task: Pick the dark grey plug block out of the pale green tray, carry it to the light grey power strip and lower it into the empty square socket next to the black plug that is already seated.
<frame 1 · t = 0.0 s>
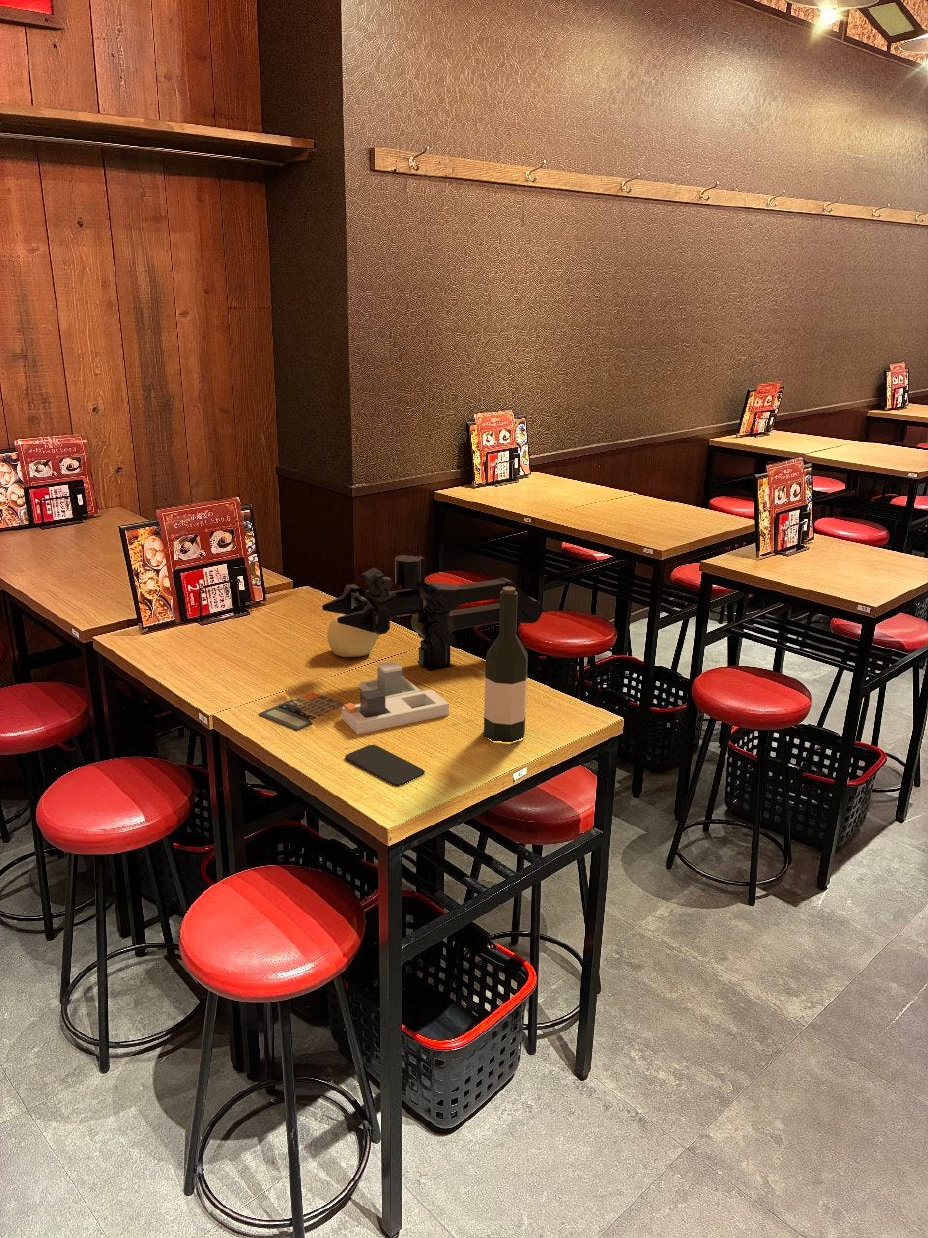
hand: (329, 613, 193), 17 cm above the table, tool horizontal, fingers open, 9 cm apart
wine bottle: (504, 735, 177), on the table
phone: (384, 768, 164), on the table
beige round lump: (353, 654, 217), on the table
calculator: (305, 713, 186), on the table
power strip: (396, 718, 183), on the table
plug: (389, 691, 194), resting on tray
tray: (389, 693, 195), on the table
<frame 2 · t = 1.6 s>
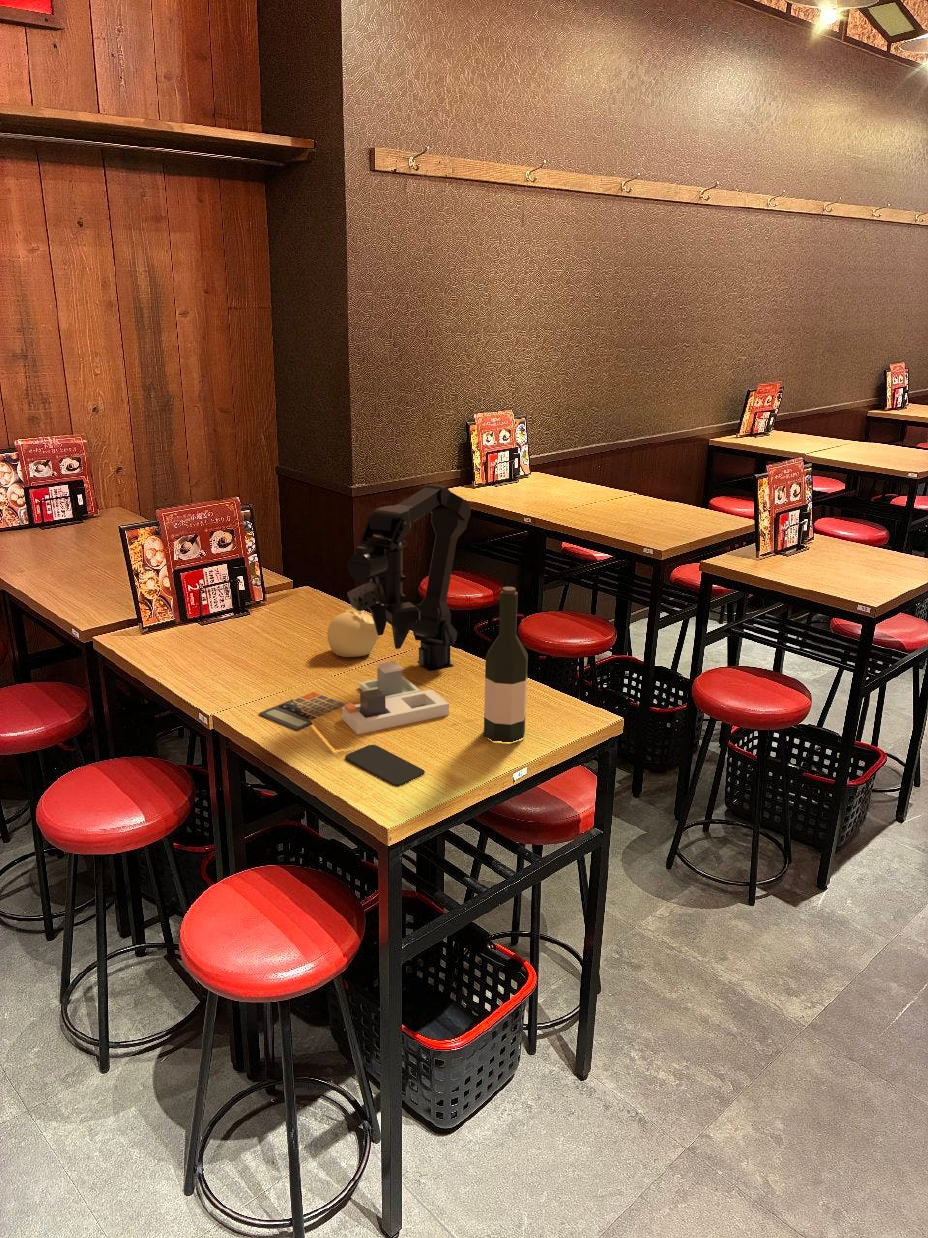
hand: (388, 641, 191), 12 cm above the table, tool pointing down, fingers open, 9 cm apart
nothing on the table moved.
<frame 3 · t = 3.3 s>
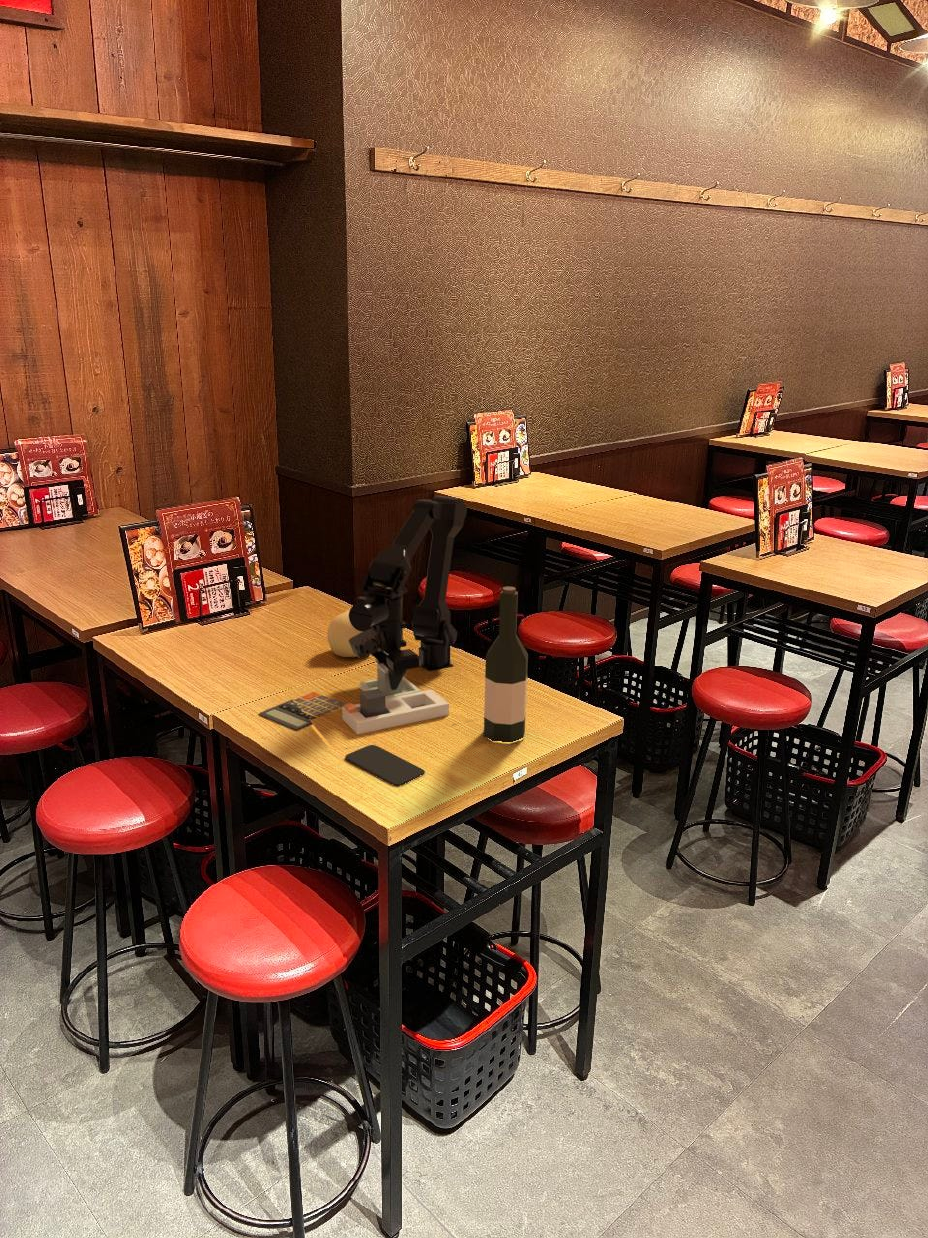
hand: (389, 686, 194), 2 cm above the table, tool pointing down, fingers closed on plug, 4 cm apart
plug: (389, 691, 194), resting on tray, touching gripper
everything else where it was.
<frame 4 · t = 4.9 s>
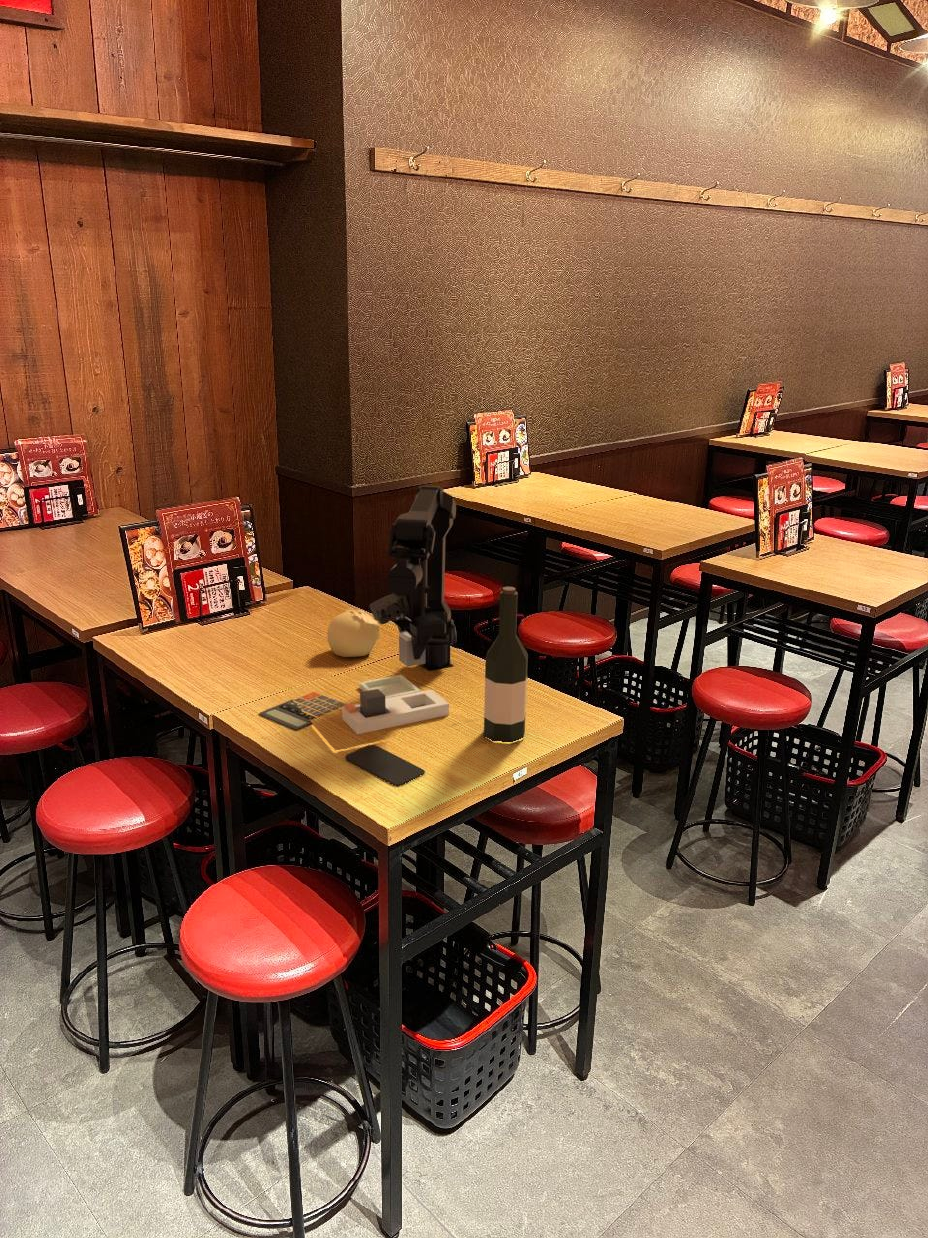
hand: (412, 655, 182), 12 cm above the table, tool pointing down, fingers closed on plug, 4 cm apart
plug: (412, 661, 183), point 11 cm above the table, touching gripper
everything else where it was.
when the fingers open (3 cm above the table, at t = 6.7 s): plug drops 1 cm, resting on power strip.
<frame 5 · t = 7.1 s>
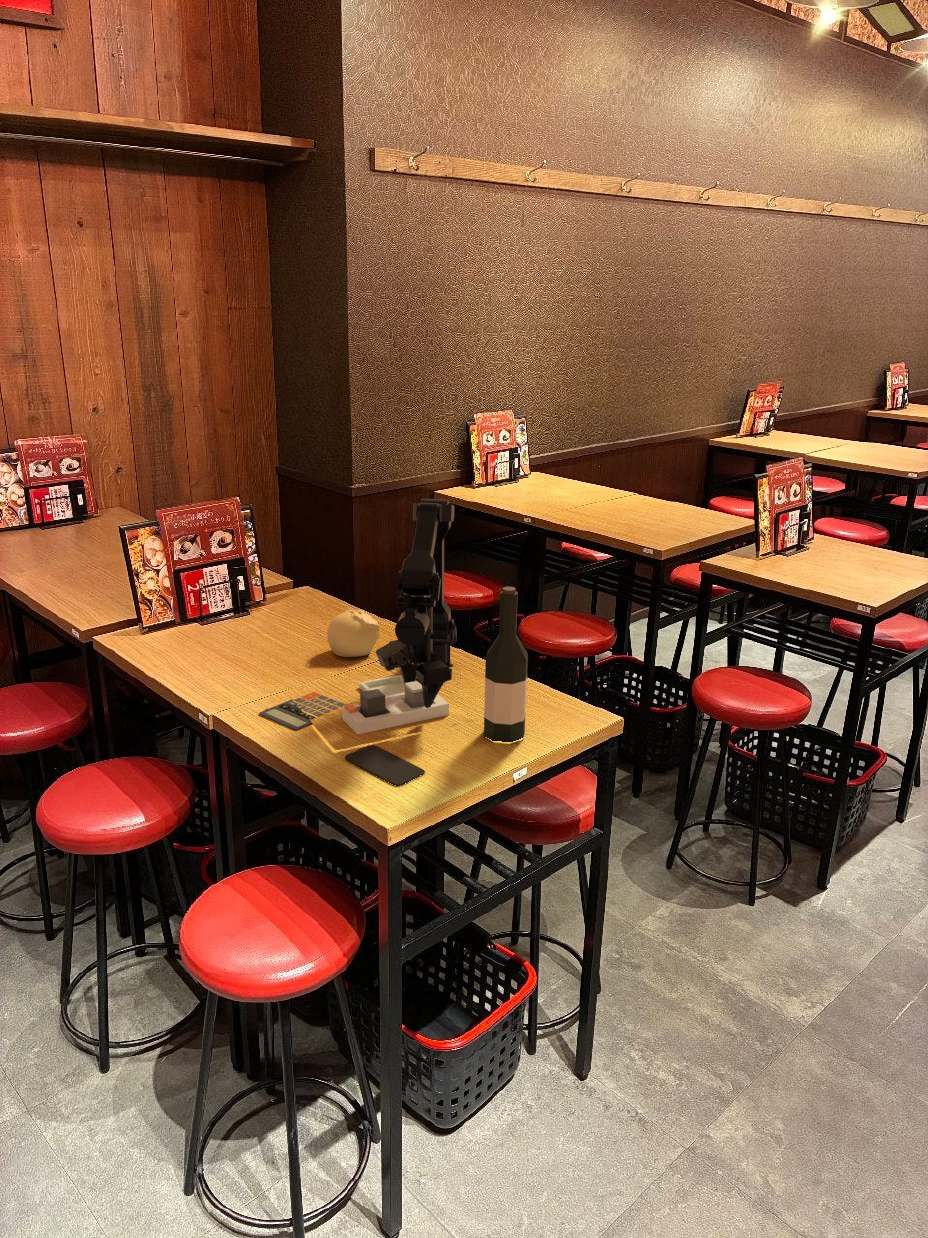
hand: (418, 699, 184), 3 cm above the table, tool pointing down, fingers open, 8 cm apart
plug: (417, 711, 185), resting on power strip
everything else where it was.
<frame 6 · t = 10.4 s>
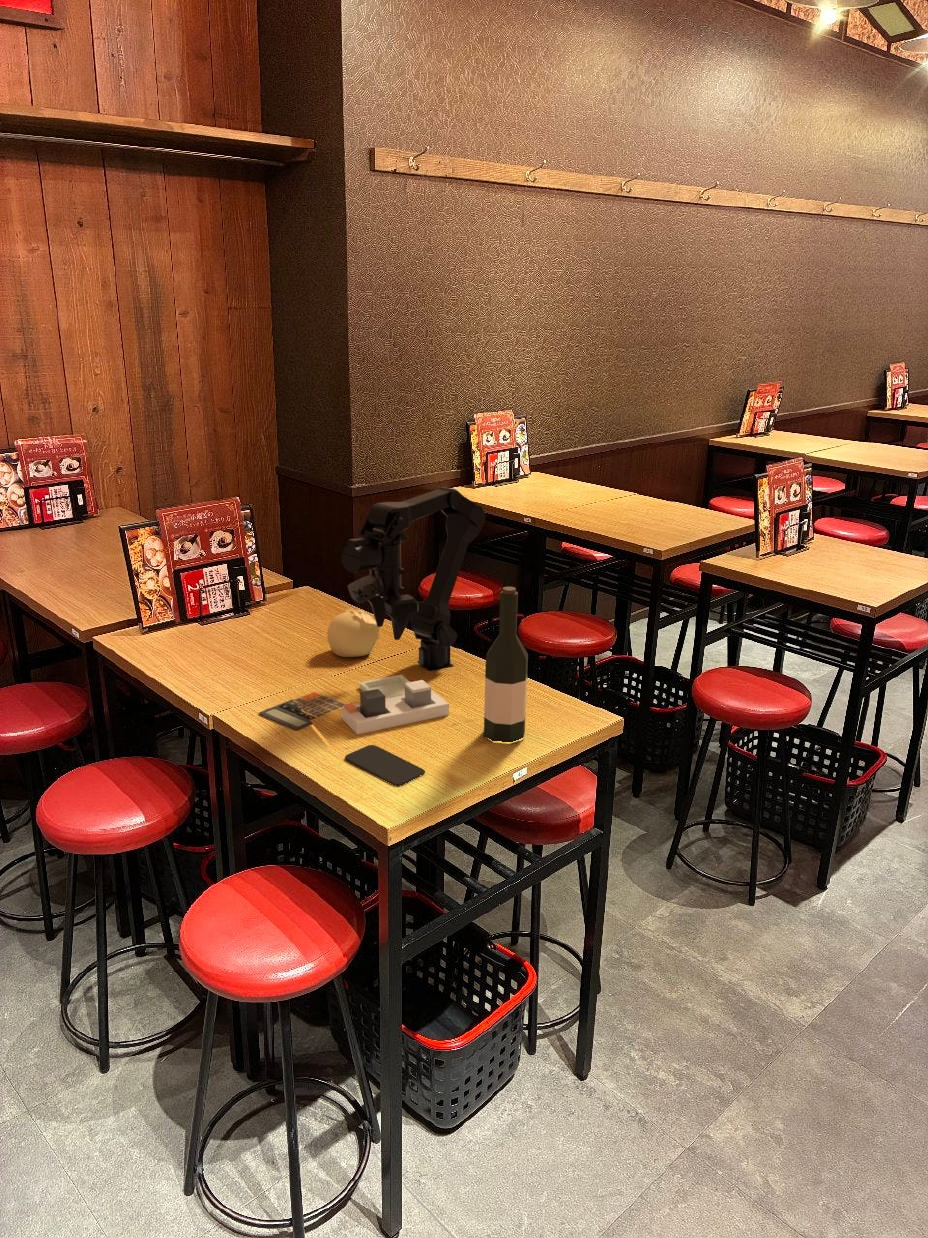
hand: (388, 633, 196), 12 cm above the table, tool pointing down, fingers open, 9 cm apart
nothing on the table moved.
at the end: plug 0.1 cm from the target spot on the power strip, point 0.5 cm above the power strip's base; plug tilted 0°; the gripper is holding nothing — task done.
